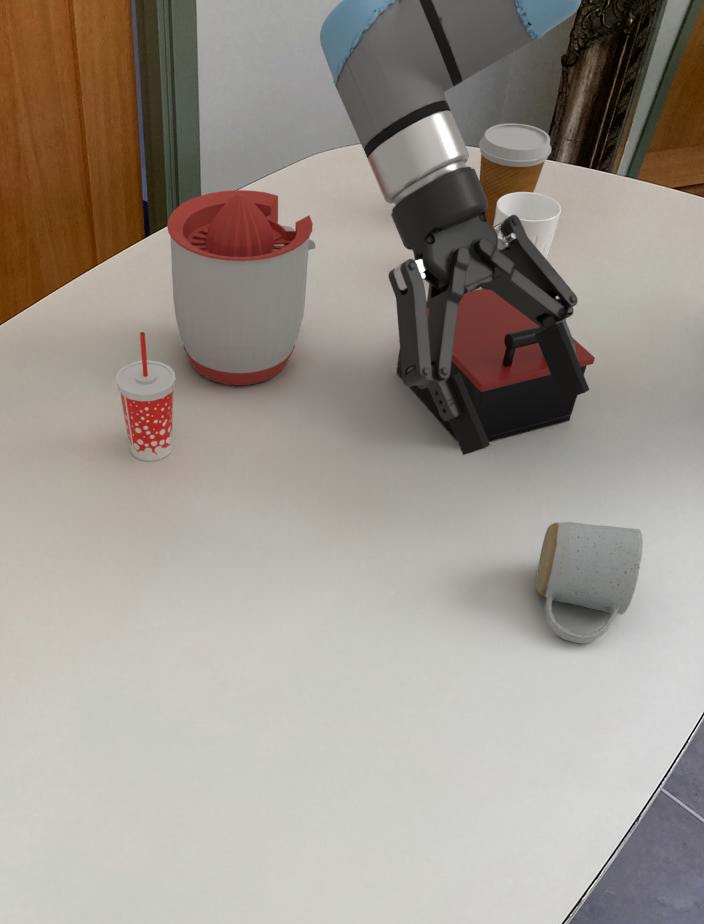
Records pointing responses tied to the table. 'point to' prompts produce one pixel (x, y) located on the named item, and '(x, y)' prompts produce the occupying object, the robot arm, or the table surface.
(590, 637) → the ceramic mug
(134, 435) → the beverage cup
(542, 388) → the black box
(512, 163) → the disposable coffee cup
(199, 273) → the citrus juicer
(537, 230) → the white cup
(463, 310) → the box lid
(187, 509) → the table surface
